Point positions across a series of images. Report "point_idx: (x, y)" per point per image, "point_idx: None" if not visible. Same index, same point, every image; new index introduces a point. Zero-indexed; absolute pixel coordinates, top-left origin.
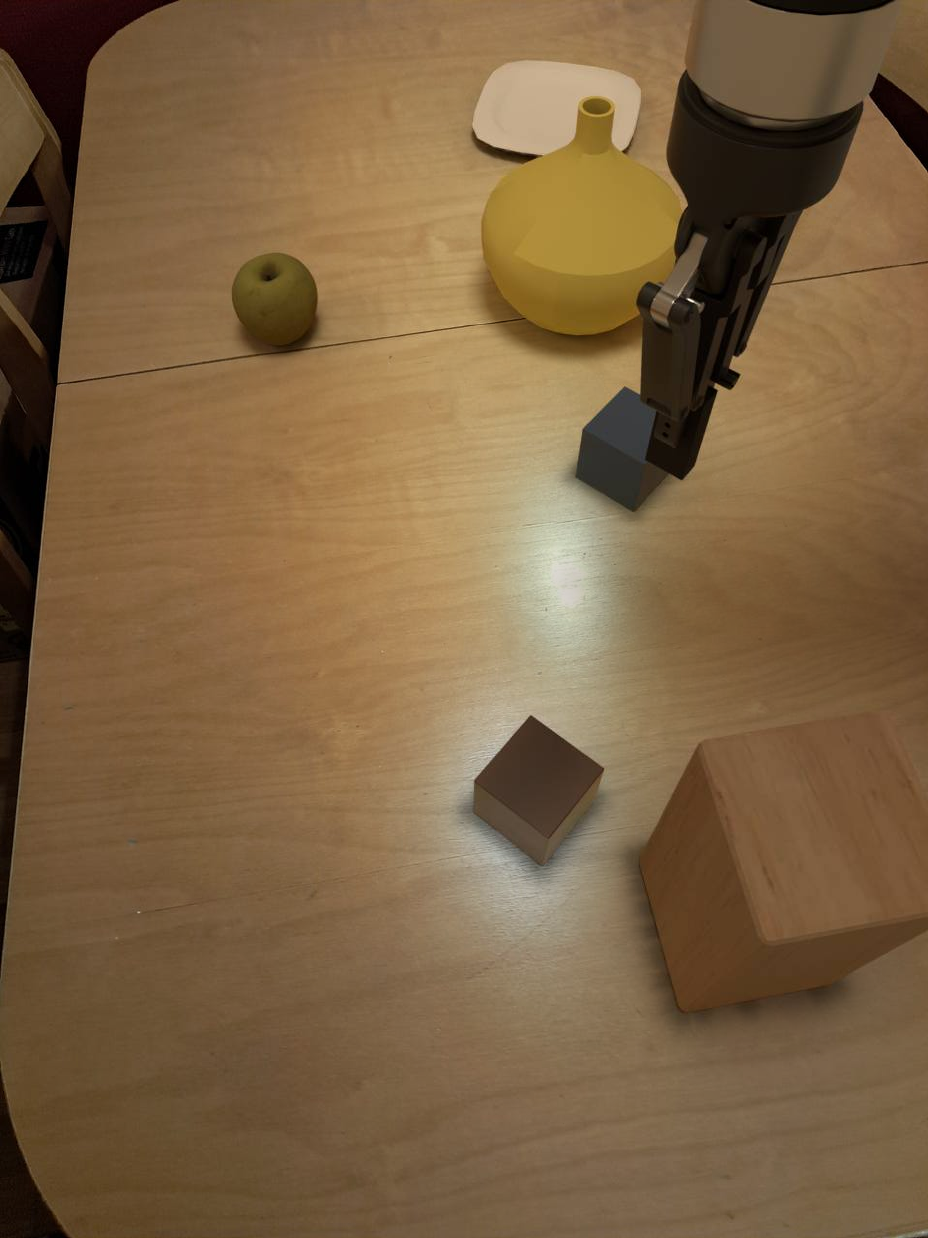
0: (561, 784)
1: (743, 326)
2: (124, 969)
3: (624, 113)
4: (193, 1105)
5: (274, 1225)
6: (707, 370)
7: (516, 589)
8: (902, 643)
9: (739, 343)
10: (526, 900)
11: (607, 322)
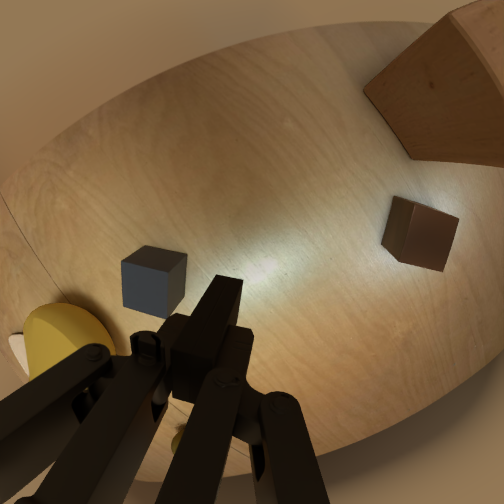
0: (432, 224)
1: (77, 390)
2: (490, 336)
3: (17, 340)
4: None
5: None
6: (211, 440)
7: (280, 295)
8: (194, 66)
9: (97, 371)
10: (449, 209)
11: (93, 324)
